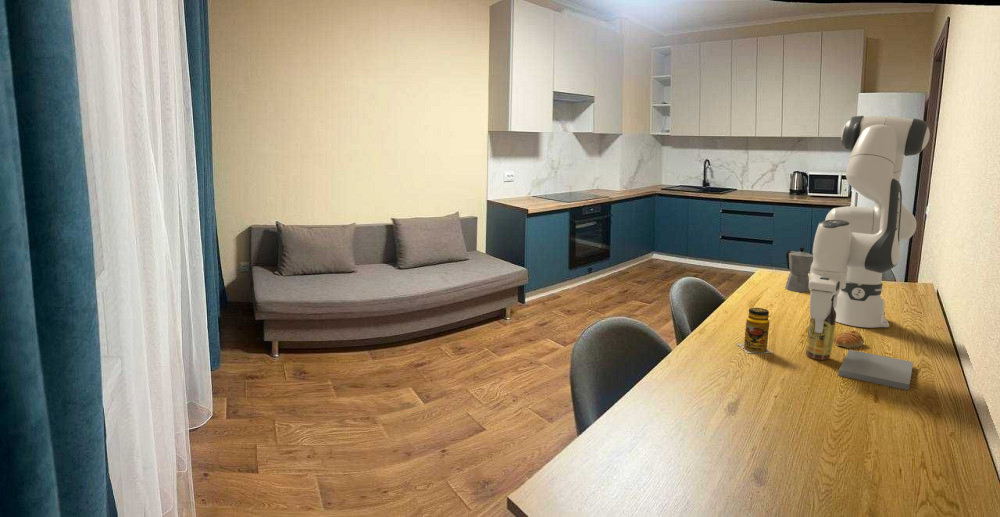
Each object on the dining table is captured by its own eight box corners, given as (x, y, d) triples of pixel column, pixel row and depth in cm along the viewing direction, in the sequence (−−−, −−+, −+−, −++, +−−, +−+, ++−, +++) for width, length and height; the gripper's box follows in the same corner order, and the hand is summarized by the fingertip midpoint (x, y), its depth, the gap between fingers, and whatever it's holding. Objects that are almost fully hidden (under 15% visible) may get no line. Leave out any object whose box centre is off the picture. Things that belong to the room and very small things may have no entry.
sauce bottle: (800, 354, 167) (807, 286, 163) (816, 351, 169) (823, 284, 165) (820, 362, 161) (828, 292, 157) (836, 359, 163) (844, 289, 159)
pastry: (854, 351, 171) (855, 338, 171) (829, 345, 176) (830, 333, 175) (864, 344, 177) (866, 332, 177) (840, 339, 182) (841, 327, 182)
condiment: (748, 353, 167) (752, 312, 165) (735, 343, 175) (739, 304, 173) (773, 353, 167) (778, 313, 165) (759, 344, 176) (763, 305, 173)
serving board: (848, 354, 168) (849, 349, 167) (912, 367, 159) (913, 361, 159) (838, 375, 152) (838, 369, 152) (908, 390, 143) (909, 384, 143)
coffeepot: (818, 293, 241) (823, 249, 238) (798, 294, 239) (803, 250, 236) (792, 284, 256) (797, 243, 253) (773, 285, 254) (777, 244, 251)
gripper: (820, 273, 171) (815, 319, 173) (807, 283, 154) (801, 334, 157) (845, 276, 167) (839, 324, 169) (835, 286, 151) (828, 339, 153)
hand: (821, 329), depth 163 cm, fingers open, 7 cm apart
